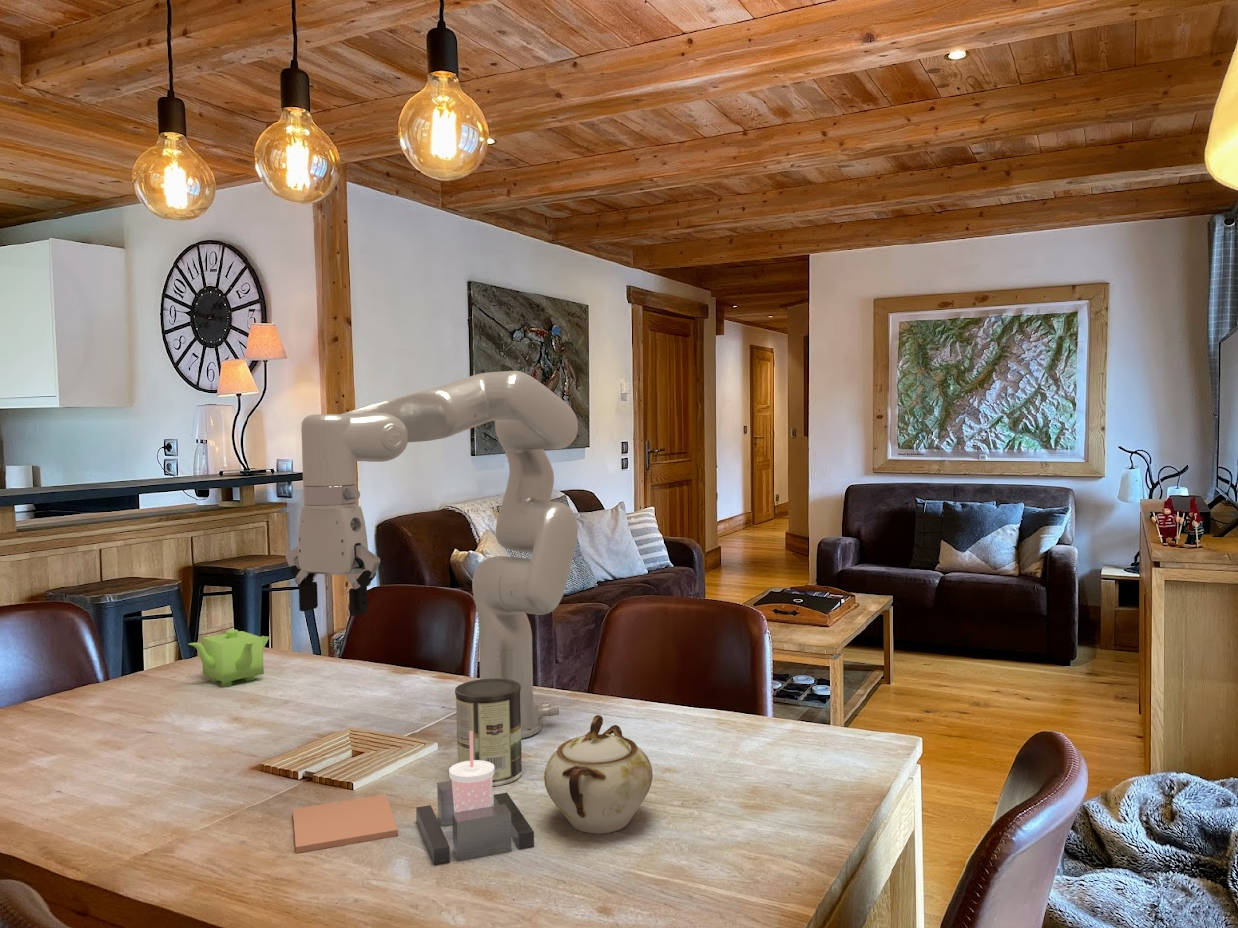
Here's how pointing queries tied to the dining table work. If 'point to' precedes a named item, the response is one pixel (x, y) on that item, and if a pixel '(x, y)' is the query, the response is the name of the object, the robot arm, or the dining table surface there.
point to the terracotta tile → (343, 823)
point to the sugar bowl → (598, 779)
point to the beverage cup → (471, 783)
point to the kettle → (232, 656)
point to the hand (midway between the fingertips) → (333, 611)
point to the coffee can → (491, 726)
